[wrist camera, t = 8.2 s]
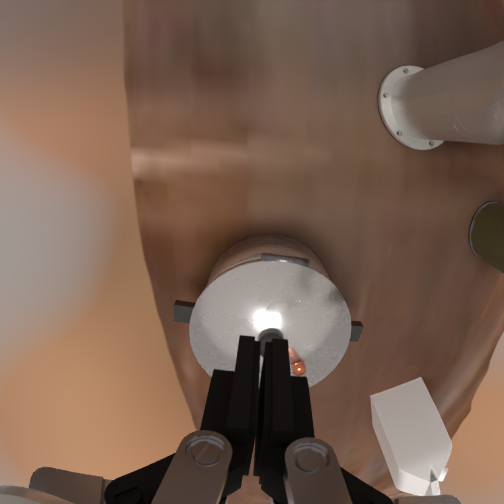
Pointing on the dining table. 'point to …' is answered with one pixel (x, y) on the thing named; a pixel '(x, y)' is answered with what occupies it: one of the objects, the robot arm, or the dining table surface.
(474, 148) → the dining table surface
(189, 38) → the dining table surface
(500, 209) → the canister
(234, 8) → the dining table surface
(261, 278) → the lid
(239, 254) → the pot
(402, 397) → the milk
